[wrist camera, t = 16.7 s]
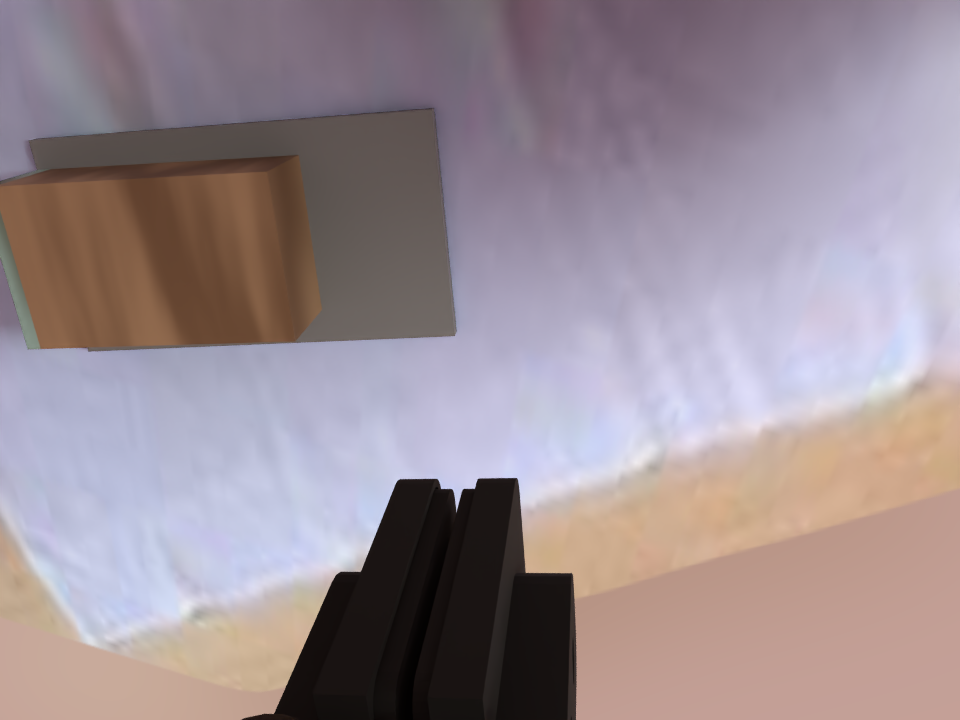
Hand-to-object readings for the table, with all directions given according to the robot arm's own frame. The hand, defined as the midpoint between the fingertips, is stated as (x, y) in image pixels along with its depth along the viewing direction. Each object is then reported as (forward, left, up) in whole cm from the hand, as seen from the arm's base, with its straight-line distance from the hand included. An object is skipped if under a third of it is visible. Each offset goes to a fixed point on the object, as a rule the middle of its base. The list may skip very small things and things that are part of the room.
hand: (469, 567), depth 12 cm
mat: (+13, +1, -26) cm, 29 cm away
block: (+10, +1, -24) cm, 26 cm away
